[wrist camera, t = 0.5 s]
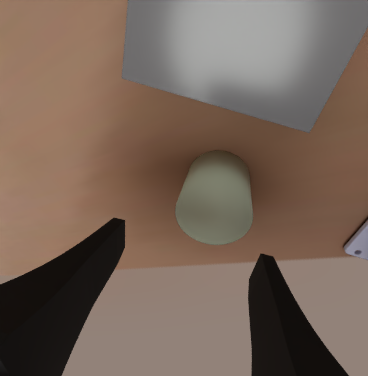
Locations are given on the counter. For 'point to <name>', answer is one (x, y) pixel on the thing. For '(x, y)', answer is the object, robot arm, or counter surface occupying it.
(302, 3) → the slate base
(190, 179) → the green cylinder
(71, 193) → the counter surface
